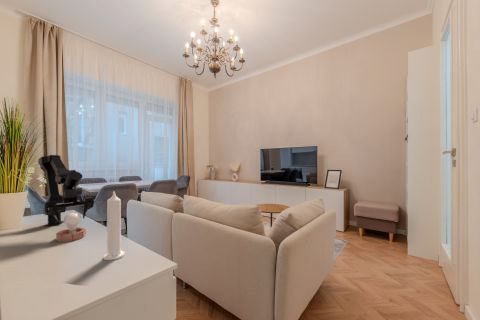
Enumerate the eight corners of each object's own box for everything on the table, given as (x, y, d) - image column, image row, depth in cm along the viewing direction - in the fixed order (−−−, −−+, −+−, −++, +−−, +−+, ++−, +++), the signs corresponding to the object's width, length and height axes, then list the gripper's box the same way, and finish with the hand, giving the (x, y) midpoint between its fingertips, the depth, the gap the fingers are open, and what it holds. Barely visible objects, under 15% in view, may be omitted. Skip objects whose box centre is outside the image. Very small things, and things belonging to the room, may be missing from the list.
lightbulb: (84, 234, 107) (84, 211, 107) (73, 238, 100) (72, 214, 100) (71, 233, 107) (71, 210, 107) (60, 238, 101) (60, 214, 101)
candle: (115, 261, 81) (115, 193, 80) (98, 259, 82) (98, 192, 81) (128, 253, 87) (128, 190, 87) (113, 251, 89) (113, 189, 88)
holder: (63, 235, 107) (63, 228, 107) (88, 232, 110) (88, 226, 110) (52, 243, 97) (52, 236, 97) (80, 240, 100) (80, 233, 100)
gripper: (44, 184, 100) (44, 213, 92) (93, 181, 112) (97, 206, 104) (45, 199, 106) (45, 227, 98) (91, 194, 118) (94, 219, 110)
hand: (71, 219), depth 102 cm, fingers open, 9 cm apart
